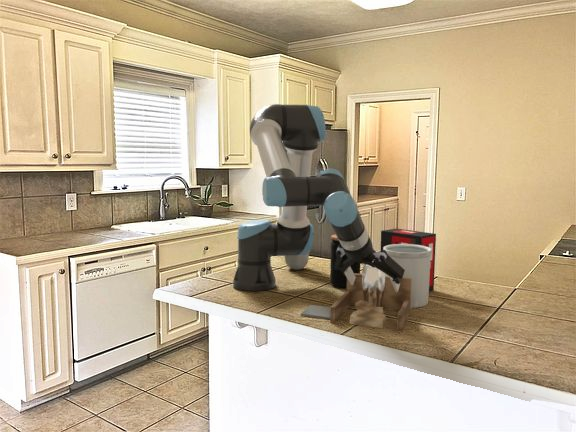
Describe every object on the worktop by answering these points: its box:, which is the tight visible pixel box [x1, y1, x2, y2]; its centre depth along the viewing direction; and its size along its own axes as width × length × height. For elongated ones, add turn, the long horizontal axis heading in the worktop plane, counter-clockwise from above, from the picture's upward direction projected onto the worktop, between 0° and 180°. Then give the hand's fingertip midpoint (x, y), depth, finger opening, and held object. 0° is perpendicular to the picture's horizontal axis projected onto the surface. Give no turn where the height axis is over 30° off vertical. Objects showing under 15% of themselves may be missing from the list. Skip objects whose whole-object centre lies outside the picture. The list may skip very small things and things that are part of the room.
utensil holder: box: [383, 244, 432, 309], centre depth 150 cm, size 15×15×18 cm
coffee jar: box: [329, 233, 361, 290], centre depth 170 cm, size 11×11×18 cm
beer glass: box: [361, 261, 386, 315], centre depth 137 cm, size 7×7×15 cm
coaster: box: [300, 304, 331, 320], centre depth 140 cm, size 9×9×1 cm
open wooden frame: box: [330, 273, 411, 333], centre depth 136 cm, size 19×19×10 cm
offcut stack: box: [349, 300, 387, 329], centre depth 131 cm, size 9×5×6 cm, turn 69°
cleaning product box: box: [380, 227, 437, 293], centre depth 167 cm, size 16×9×20 cm, turn 41°
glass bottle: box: [284, 215, 310, 271], centre depth 194 cm, size 10×10×28 cm
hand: (374, 284), depth 136 cm, fingers open, 13 cm apart
